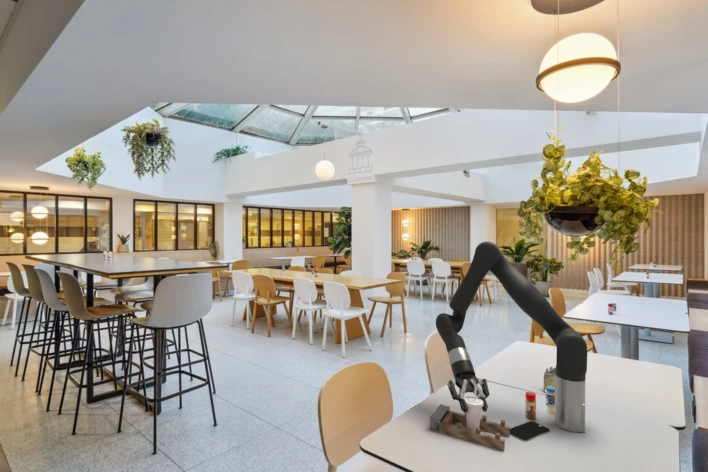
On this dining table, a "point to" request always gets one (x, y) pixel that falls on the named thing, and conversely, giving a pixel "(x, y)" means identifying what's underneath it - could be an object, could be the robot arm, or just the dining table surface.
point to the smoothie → (473, 411)
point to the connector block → (438, 416)
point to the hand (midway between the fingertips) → (475, 411)
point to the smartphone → (528, 431)
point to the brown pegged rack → (476, 435)
